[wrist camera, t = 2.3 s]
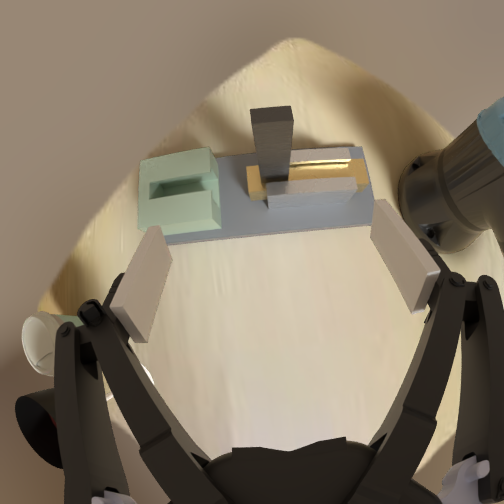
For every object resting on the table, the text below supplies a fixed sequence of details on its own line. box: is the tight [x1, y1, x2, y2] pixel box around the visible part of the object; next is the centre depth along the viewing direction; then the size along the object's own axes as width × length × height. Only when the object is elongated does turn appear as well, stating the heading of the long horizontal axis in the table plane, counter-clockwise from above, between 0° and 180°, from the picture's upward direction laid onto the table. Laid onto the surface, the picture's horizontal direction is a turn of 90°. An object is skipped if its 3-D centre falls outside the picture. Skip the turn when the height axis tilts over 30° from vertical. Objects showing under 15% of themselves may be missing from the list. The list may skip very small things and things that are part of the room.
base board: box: [164, 147, 374, 246], centre depth 35 cm, size 30×11×2 cm, turn 95°
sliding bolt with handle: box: [246, 106, 369, 201], centre depth 25 cm, size 14×3×15 cm, turn 95°
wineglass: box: [15, 364, 154, 469], centre depth 24 cm, size 8×9×20 cm
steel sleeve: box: [266, 148, 358, 209], centre depth 31 cm, size 10×5×5 cm, turn 95°
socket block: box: [138, 147, 222, 236], centre depth 32 cm, size 9×9×5 cm
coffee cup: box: [22, 311, 84, 376], centre depth 29 cm, size 9×9×12 cm
